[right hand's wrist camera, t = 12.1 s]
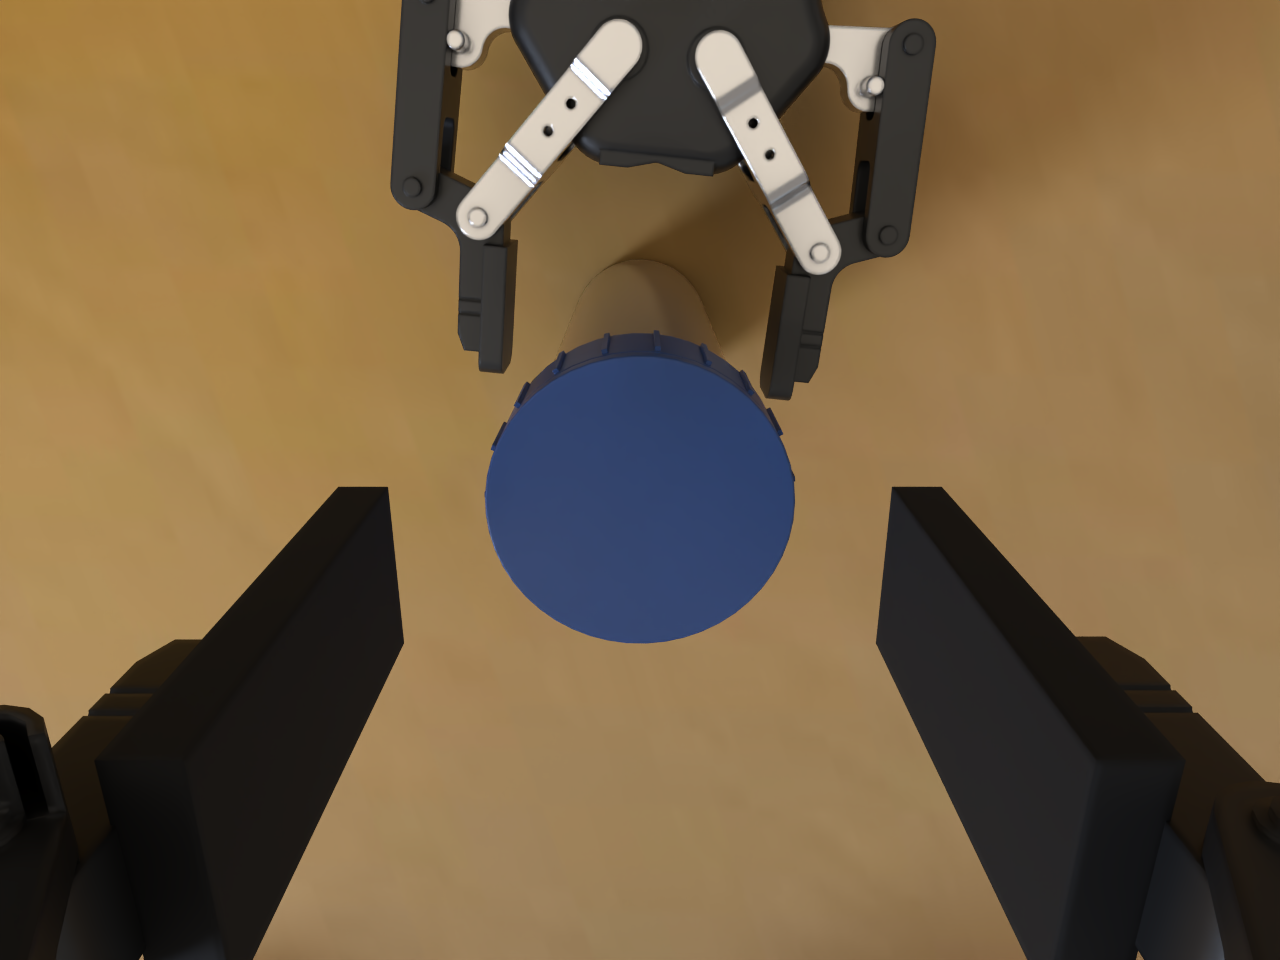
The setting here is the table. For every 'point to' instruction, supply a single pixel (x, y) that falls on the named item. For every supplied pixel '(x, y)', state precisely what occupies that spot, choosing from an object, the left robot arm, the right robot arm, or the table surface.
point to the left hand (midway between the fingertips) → (634, 380)
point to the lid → (640, 489)
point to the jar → (640, 306)
